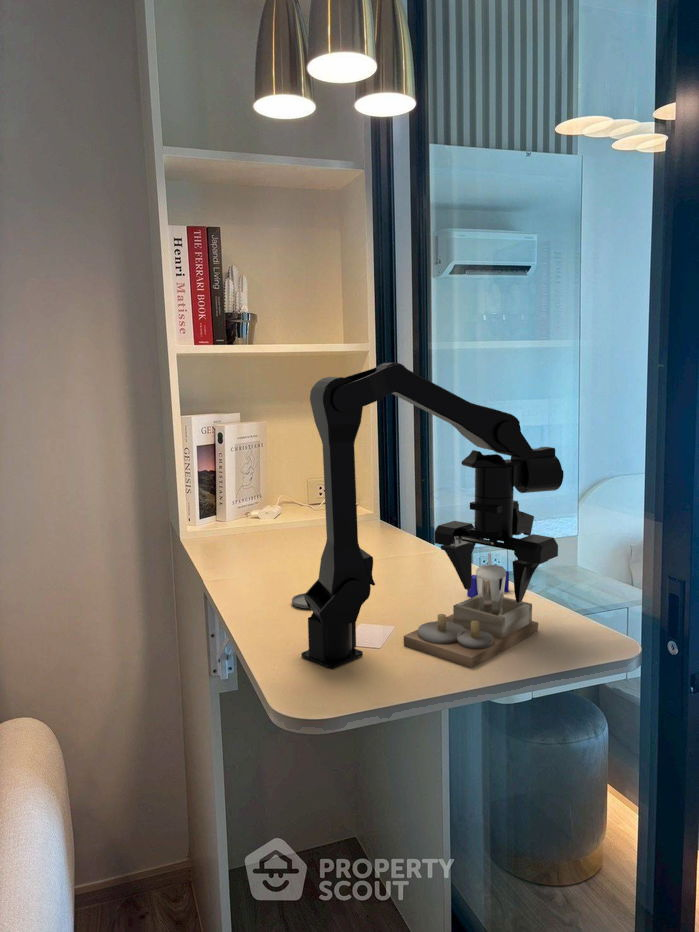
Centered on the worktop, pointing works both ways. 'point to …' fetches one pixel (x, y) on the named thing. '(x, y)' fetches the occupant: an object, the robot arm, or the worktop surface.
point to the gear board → (474, 632)
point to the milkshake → (491, 587)
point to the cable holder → (474, 591)
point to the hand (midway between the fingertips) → (492, 595)
